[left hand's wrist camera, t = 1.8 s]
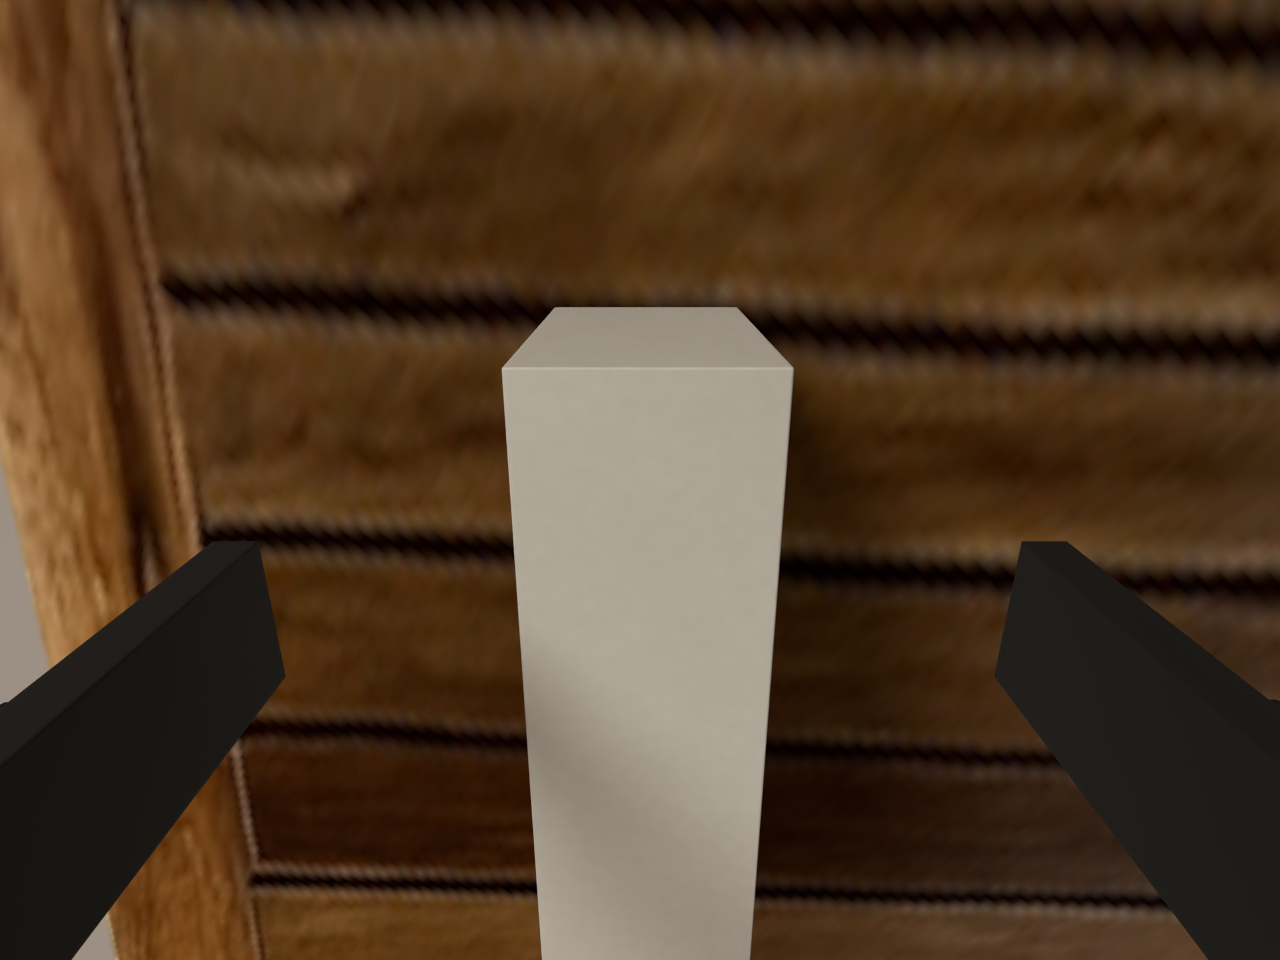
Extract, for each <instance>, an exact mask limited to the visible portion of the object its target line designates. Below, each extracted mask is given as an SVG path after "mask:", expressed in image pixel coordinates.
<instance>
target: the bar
mask: <svg viewBox="0 0 1280 960" xmlns="http://www.w3.org/2000/svg"><path fill="white" fill-rule="evenodd" d="M793 376H794V368H793V367H792V366H791V365H790V364H789V363H788V361H787V360H786V359H785V358H784V357H783V356H782V355H781V354H780V353H779V352H778V351H777V350H776V349H775V348H774V347H773V345H772V344H771V343H770V342H769V341H768V340H767V339H766V338H765V337H764V336H763V335H762V334H761V333H760V332H759V331H758V329H757V328H756V327H755V326H754V325H753V324H752V323H751V322H750V321H749V320H748V319H747V318H746V317H745V316H744V315H743V313H742V312H741V311H740V310H739V309H738V308H736V307H556V308H554V309H553V311H552V312H551V313H550V314H549V315H548V316H547V317H546V319H545V320H544V321H543V322H542V323H541V324H540V325H539V327H538V328H537V329H536V330H535V331H534V332H533V333H532V335H531V336H530V337H529V338H528V339H527V340H526V341H525V343H524V344H523V345H522V346H521V347H520V348H519V349H518V351H517V352H516V353H515V354H514V355H513V356H512V357H511V359H510V360H509V361H508V362H507V363H506V364H505V365H504V367H503V368H502V380H503V394H504V409H505V424H506V438H507V453H508V467H509V482H510V497H511V511H512V526H513V541H514V555H515V570H516V584H517V599H518V614H519V628H520V643H521V658H522V672H523V687H524V701H525V716H526V731H527V745H528V760H529V775H530V789H531V804H532V818H533V833H534V848H535V862H536V877H537V892H538V906H539V921H540V936H541V950H542V960H750V952H751V939H752V925H753V912H754V899H755V885H756V872H757V858H758V845H759V832H760V818H761V805H762V792H763V778H764V765H765V751H766V738H767V725H768V711H769V698H770V684H771V671H772V658H773V644H774V631H775V617H776V604H777V591H778V577H779V564H780V551H781V537H782V524H783V510H784V497H785V484H786V470H787V457H788V443H789V430H790V417H791V403H792V390H793Z"/></svg>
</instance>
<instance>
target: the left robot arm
mask: <svg viewBox="0 0 1280 960" xmlns="http://www.w3.org/2000/svg"><path fill="white" fill-rule="evenodd" d="M285 677H286V676H285V671H284V666H283V661H282V656H281V651H280V647H279V642H278V637H277V632H276V627H275V622H274V617H273V612H272V607H271V602H270V598H269V593H268V588H267V583H266V578H265V573H264V568H263V563H262V558H261V553H260V548H259V544H258V541H213V542H212V543H211V544H210V545H208V546H207V547H206V548H205V549H203V550H202V551H201V552H199V553H198V554H197V555H196V556H194V557H193V558H192V559H190V560H189V561H188V562H187V563H185V564H184V565H183V566H182V567H180V568H179V569H178V570H176V571H175V572H174V573H173V574H171V575H170V576H169V577H167V578H166V579H165V580H164V581H162V582H161V583H160V584H159V585H157V586H156V587H155V588H153V589H152V590H151V591H150V592H148V593H147V594H146V595H144V596H143V597H142V598H141V599H139V600H138V601H137V602H136V603H134V604H133V605H132V606H130V607H129V608H128V609H127V610H125V611H124V612H123V613H121V614H120V615H119V616H118V617H116V618H115V619H114V620H113V621H111V622H110V623H109V624H107V625H106V626H105V627H104V628H102V629H101V630H100V631H99V632H97V633H96V634H95V635H93V636H92V637H91V638H90V639H88V640H87V641H86V642H84V643H83V644H82V645H81V646H79V647H78V648H77V649H76V650H74V651H73V652H72V653H70V654H69V655H68V656H67V657H65V658H64V659H63V660H61V661H60V662H59V663H58V664H56V665H55V666H54V667H53V668H51V669H50V670H49V671H47V672H46V673H45V674H44V675H42V676H41V677H40V678H38V679H37V680H36V681H35V682H33V683H32V684H31V685H30V686H28V687H27V688H26V689H24V690H23V691H22V692H21V693H19V694H18V695H17V696H16V697H14V698H13V699H12V700H10V701H9V702H5V703H2V704H1V705H0V960H72V958H73V957H74V956H75V954H76V953H77V952H78V950H79V949H80V948H81V946H82V945H83V944H84V942H85V941H86V940H87V938H88V937H89V936H90V934H91V933H92V932H93V931H94V929H95V928H96V927H97V925H98V924H99V923H100V921H101V920H102V919H103V917H104V916H105V915H106V913H107V912H108V911H109V909H110V908H111V907H112V905H113V904H114V903H115V901H116V900H117V899H118V897H119V896H120V895H121V894H122V892H123V891H124V890H125V888H126V887H127V886H128V884H129V883H130V882H131V880H132V879H133V878H134V876H135V875H136V874H137V872H138V871H139V870H140V868H141V867H142V866H143V864H144V863H145V862H146V860H147V859H148V858H149V856H150V855H151V854H152V853H153V851H154V850H155V849H156V847H157V846H158V845H159V843H160V842H161V841H162V839H163V838H164V837H165V835H166V834H167V833H168V831H169V830H170V829H171V827H172V826H173V825H174V823H175V822H176V821H177V819H178V818H179V817H180V815H181V814H182V813H183V811H184V810H185V809H186V808H187V806H188V805H189V804H190V802H191V801H192V800H193V798H194V797H195V796H196V794H197V793H198V792H199V790H200V789H201V788H202V786H203V785H204V784H205V782H206V781H207V780H208V778H209V777H210V776H211V774H212V773H213V772H214V770H215V769H216V768H217V767H218V765H219V764H220V763H221V761H222V760H223V759H224V757H225V756H226V755H227V753H228V752H229V751H230V749H231V748H232V747H233V745H234V744H235V743H236V741H237V740H238V739H239V737H240V736H241V735H242V733H243V732H244V731H245V729H246V728H247V727H248V726H249V724H250V723H251V722H252V720H253V719H254V718H255V716H256V715H257V714H258V712H259V711H260V710H261V708H262V707H263V706H264V704H265V703H266V702H267V700H268V699H269V698H270V696H271V695H272V694H273V692H274V691H275V690H276V688H277V687H278V686H279V685H280V683H281V682H282V681H283V679H284V678H285ZM994 677H995V678H996V679H997V681H998V682H999V683H1000V685H1001V686H1002V687H1003V688H1004V690H1005V691H1006V692H1007V694H1008V695H1009V696H1010V698H1011V699H1012V700H1013V702H1014V703H1015V704H1016V706H1017V707H1018V708H1019V710H1020V711H1021V712H1022V714H1023V715H1024V716H1025V718H1026V719H1027V720H1028V722H1029V723H1030V724H1031V726H1032V727H1033V728H1034V729H1035V731H1036V732H1037V733H1038V735H1039V736H1040V737H1041V739H1042V740H1043V741H1044V743H1045V744H1046V745H1047V747H1048V748H1049V749H1050V751H1051V752H1052V753H1053V755H1054V756H1055V757H1056V759H1057V760H1058V761H1059V763H1060V764H1061V765H1062V767H1063V768H1064V769H1065V770H1066V772H1067V773H1068V774H1069V776H1070V777H1071V778H1072V780H1073V781H1074V782H1075V784H1076V785H1077V786H1078V788H1079V789H1080V790H1081V792H1082V793H1083V794H1084V796H1085V797H1086V798H1087V800H1088V801H1089V802H1090V804H1091V805H1092V806H1093V808H1094V809H1095V810H1096V811H1097V813H1098V814H1099V815H1100V817H1101V818H1102V819H1103V821H1104V822H1105V823H1106V825H1107V826H1108V827H1109V829H1110V830H1111V831H1112V833H1113V834H1114V835H1115V837H1116V838H1117V839H1118V841H1119V842H1120V843H1121V845H1122V846H1123V847H1124V849H1125V850H1126V851H1127V853H1128V854H1129V855H1130V856H1131V858H1132V859H1133V860H1134V862H1135V863H1136V864H1137V866H1138V867H1139V868H1140V870H1141V871H1142V872H1143V874H1144V875H1145V876H1146V878H1147V879H1148V880H1149V882H1150V883H1151V884H1152V886H1153V887H1154V888H1155V890H1156V891H1157V892H1158V894H1159V895H1160V896H1161V897H1162V899H1163V900H1164V901H1165V903H1166V904H1167V905H1168V907H1169V908H1170V909H1171V911H1172V912H1173V913H1174V915H1175V916H1176V917H1177V919H1178V920H1179V921H1180V923H1181V924H1182V925H1183V927H1184V928H1185V929H1186V931H1187V932H1188V933H1189V935H1190V936H1191V937H1192V938H1193V940H1194V941H1195V942H1196V944H1197V945H1198V946H1199V948H1200V949H1201V950H1202V952H1203V953H1204V954H1205V956H1206V957H1207V958H1208V960H1280V701H1278V700H1268V699H1267V698H1266V697H1265V696H1263V695H1262V694H1261V693H1259V692H1258V691H1257V690H1256V689H1254V688H1253V687H1252V686H1250V685H1249V684H1248V683H1247V682H1245V681H1244V680H1243V679H1242V678H1240V677H1239V676H1238V675H1236V674H1235V673H1234V672H1233V671H1231V670H1230V669H1229V668H1227V667H1226V666H1225V665H1224V664H1222V663H1221V662H1220V661H1219V660H1217V659H1216V658H1215V657H1213V656H1212V655H1211V654H1210V653H1208V652H1207V651H1206V650H1204V649H1203V648H1202V647H1201V646H1199V645H1198V644H1197V643H1196V642H1194V641H1193V640H1192V639H1190V638H1189V637H1188V636H1187V635H1185V634H1184V633H1183V632H1181V631H1180V630H1179V629H1178V628H1176V627H1175V626H1174V625H1173V624H1171V623H1170V622H1169V621H1167V620H1166V619H1165V618H1164V617H1162V616H1161V615H1160V614H1159V613H1157V612H1156V611H1155V610H1153V609H1152V608H1151V607H1150V606H1148V605H1147V604H1146V603H1144V602H1143V601H1142V600H1141V599H1139V598H1138V597H1137V596H1136V595H1134V594H1133V593H1132V592H1130V591H1129V590H1128V589H1127V588H1125V587H1124V586H1123V585H1121V584H1120V583H1119V582H1118V581H1116V580H1115V579H1114V578H1113V577H1111V576H1110V575H1109V574H1107V573H1106V572H1105V571H1104V570H1102V569H1101V568H1100V567H1098V566H1097V565H1096V564H1095V563H1093V562H1092V561H1091V560H1090V559H1088V558H1087V557H1086V556H1084V555H1083V554H1082V553H1081V552H1079V551H1078V550H1077V549H1075V548H1074V547H1073V546H1072V545H1070V544H1069V543H1068V542H1067V541H1022V544H1021V548H1020V553H1019V558H1018V563H1017V568H1016V573H1015V578H1014V583H1013V588H1012V593H1011V598H1010V602H1009V607H1008V612H1007V617H1006V622H1005V627H1004V632H1003V637H1002V642H1001V647H1000V651H999V656H998V661H997V666H996V671H995V676H994Z"/></svg>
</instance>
